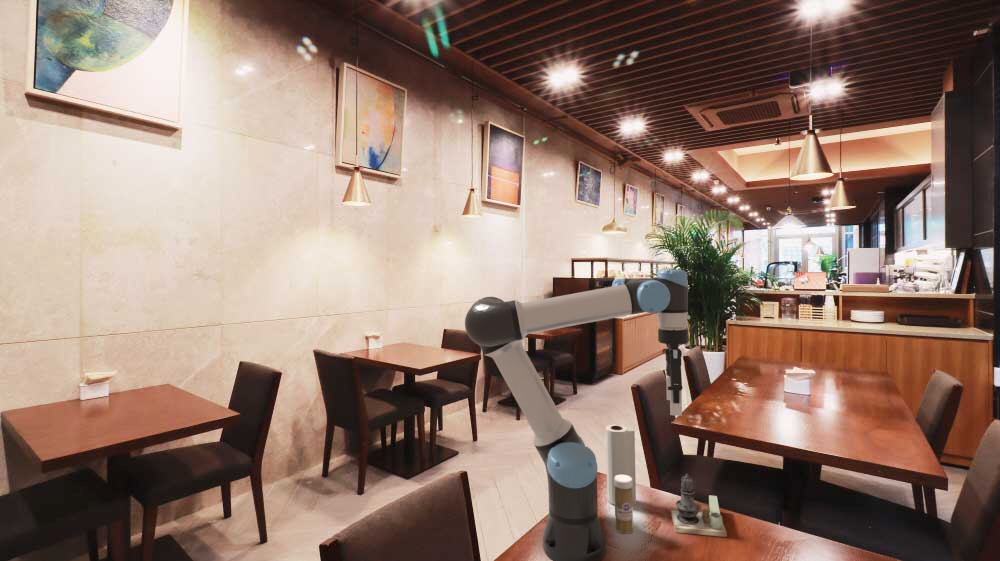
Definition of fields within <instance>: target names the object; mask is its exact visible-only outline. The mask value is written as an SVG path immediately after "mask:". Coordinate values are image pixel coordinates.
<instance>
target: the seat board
mask: <svg viewBox="0 0 1000 561" xmlns="http://www.w3.org/2000/svg"><path fill="white" fill-rule="evenodd" d="M679 514H680V513H679V512H678V509H670V516H671V520H672V523H673V528H674V532H675V533H681V534H690V535H700V536H702V535H703V536H711V537H720V538H721V537H723V538H727V537H728V535H727V534H728V533H727V530H726V527H725V525H724V523H723V521H722V528H721V529H715V528H712V527H711V526H710V509H709V507H708V505H701V511H698V514H697V515H696V517H697V518H698V519H699V522H698V523H697V524H685V523H682V522H680V521H679V520H678V519H677V516H678V515H679Z"/></svg>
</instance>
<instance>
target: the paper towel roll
mask: <svg viewBox="0 0 1000 561" xmlns="http://www.w3.org/2000/svg"><path fill="white" fill-rule="evenodd" d="M635 432H636V431H635V430H628V427H627V426H624V425H621V424H609V425H607V426H605V446H606V448H605V450H606V451H605V452H606V457H605V458H606V491H607V492H606V494H607V495H606V496H607V502H608V503H609V504H612V505H614V506H615V485H614V477H615V476H616V475H627V476H630V477H631V478H632V482H633V486H632V505H637V491H636V490H637V489H636V485H637V482H636V480H637V479H636V445H635V444H636V443H635V442H636V438H635Z"/></svg>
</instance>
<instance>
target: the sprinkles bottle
mask: <svg viewBox="0 0 1000 561" xmlns="http://www.w3.org/2000/svg"><path fill="white" fill-rule="evenodd" d="M614 485H615V505H614V516H615V517H614V518H615V525H614V528H615V530H616V531H617V532H618V533H621V534H630V533H633V531H634V527H633V526H634V524H633V523H634V522H633V516H634V514H633V513H634V510H633V509H634V508H633V507H634V506H633V505H634V504H632V486H633V482H632V478H631V477H630V476H627V475H616V476H615V477H614Z"/></svg>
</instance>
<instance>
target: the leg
mask: <svg viewBox="0 0 1000 561" xmlns="http://www.w3.org/2000/svg"><path fill="white" fill-rule="evenodd" d="M708 506H709V507H708V508H709V512H710V526H711V527H712V528H715V529H721V528H722V522H723V516H722V515H721V513H720V507H719V501H718V496H717V495H711V494H710V495H708Z"/></svg>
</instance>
